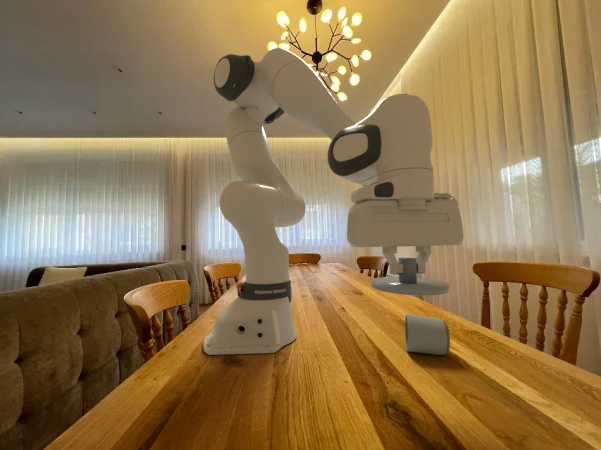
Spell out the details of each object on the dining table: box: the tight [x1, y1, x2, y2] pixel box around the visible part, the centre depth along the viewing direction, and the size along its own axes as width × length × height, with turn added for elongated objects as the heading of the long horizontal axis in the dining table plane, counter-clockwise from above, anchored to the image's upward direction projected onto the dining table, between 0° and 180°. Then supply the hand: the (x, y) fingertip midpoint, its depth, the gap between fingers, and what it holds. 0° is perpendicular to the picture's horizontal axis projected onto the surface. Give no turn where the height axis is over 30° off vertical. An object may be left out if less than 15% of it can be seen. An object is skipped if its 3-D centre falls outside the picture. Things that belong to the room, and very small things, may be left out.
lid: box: [370, 257, 451, 296], centre depth 42 cm, size 12×12×5 cm
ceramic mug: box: [404, 313, 451, 356], centre depth 56 cm, size 11×8×8 cm
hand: (407, 273), depth 42 cm, fingers closed on lid, 3 cm apart
